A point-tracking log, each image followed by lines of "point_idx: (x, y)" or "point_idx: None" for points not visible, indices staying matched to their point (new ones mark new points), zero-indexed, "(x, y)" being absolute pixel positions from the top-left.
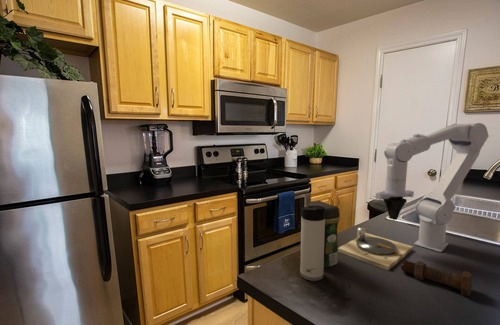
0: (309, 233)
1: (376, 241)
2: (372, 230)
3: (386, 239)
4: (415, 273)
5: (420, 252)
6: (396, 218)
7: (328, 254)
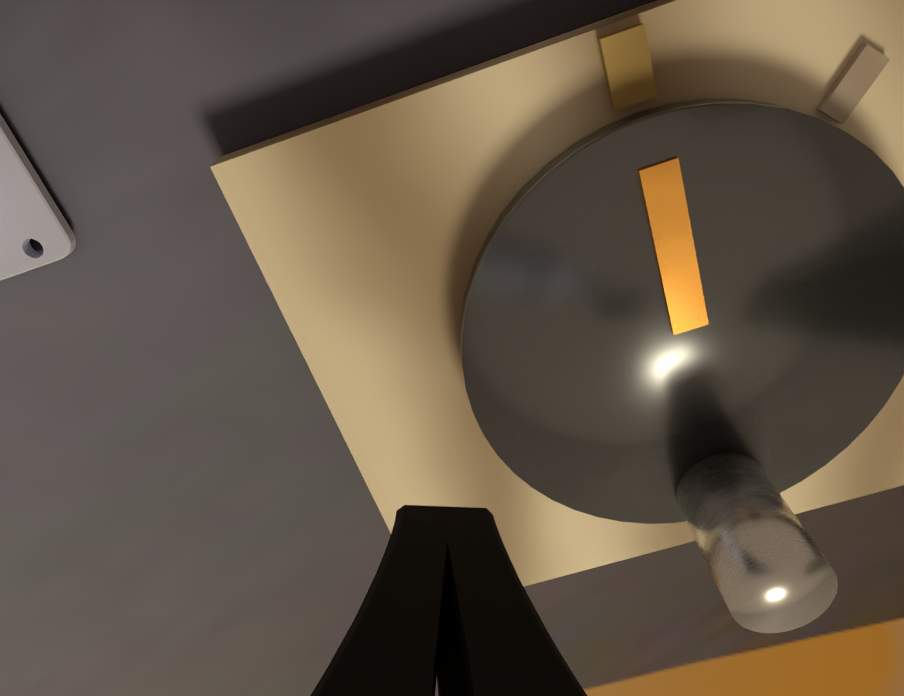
0: None
1: (619, 389)
2: (245, 648)
3: (362, 426)
4: None
5: (181, 57)
6: (434, 517)
7: None
